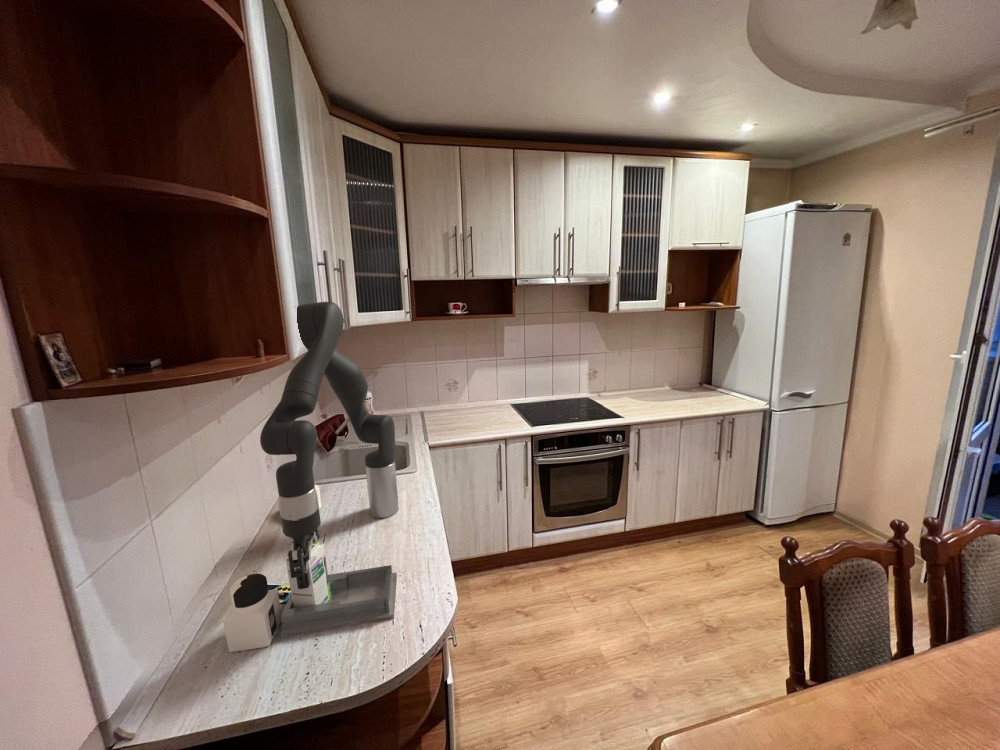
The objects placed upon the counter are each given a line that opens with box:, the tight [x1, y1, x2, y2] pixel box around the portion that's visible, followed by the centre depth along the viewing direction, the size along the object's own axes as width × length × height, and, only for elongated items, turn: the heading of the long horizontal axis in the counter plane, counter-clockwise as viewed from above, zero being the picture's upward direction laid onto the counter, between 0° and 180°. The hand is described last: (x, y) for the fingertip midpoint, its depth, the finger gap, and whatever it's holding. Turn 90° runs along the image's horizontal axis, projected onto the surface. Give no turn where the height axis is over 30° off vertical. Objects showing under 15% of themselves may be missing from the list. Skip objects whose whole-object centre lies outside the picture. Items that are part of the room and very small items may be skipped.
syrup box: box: [284, 541, 331, 608], centre depth 91 cm, size 6×6×14 cm
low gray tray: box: [280, 565, 398, 639], centre depth 93 cm, size 14×23×4 cm, turn 102°
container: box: [223, 573, 283, 653], centre depth 84 cm, size 8×8×13 cm
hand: (308, 574), depth 91 cm, fingers open, 8 cm apart
